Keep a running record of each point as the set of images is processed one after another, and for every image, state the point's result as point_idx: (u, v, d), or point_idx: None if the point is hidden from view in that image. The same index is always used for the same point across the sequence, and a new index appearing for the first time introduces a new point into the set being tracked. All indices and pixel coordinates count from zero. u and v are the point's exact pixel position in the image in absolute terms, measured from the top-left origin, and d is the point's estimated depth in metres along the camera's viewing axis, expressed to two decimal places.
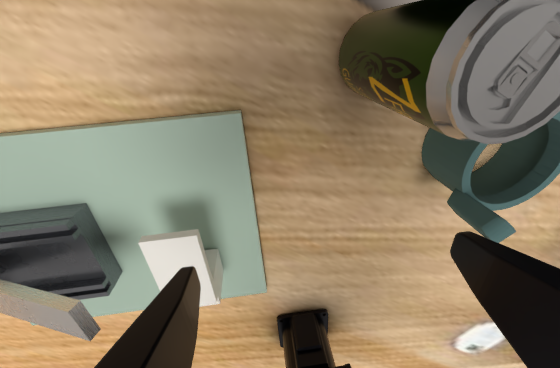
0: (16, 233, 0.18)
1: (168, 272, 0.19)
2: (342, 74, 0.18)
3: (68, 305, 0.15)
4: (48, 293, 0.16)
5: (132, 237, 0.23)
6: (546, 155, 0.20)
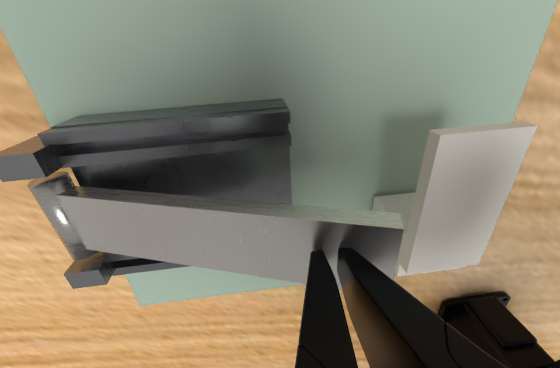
0: (205, 125, 0.11)
1: (449, 200, 0.11)
2: None
3: (388, 220, 0.08)
4: (317, 207, 0.09)
5: (324, 166, 0.15)
6: None
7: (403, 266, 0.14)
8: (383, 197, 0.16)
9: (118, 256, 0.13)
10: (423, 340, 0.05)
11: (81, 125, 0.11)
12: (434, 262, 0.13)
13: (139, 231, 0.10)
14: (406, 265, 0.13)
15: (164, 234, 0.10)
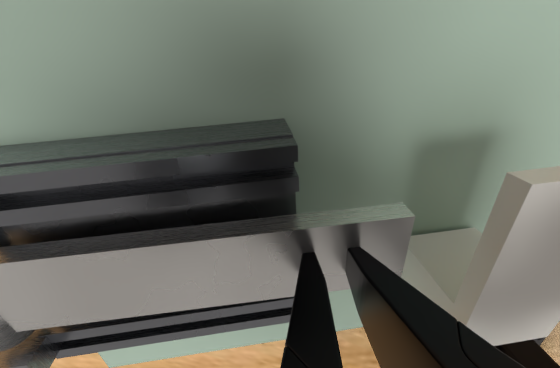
0: (171, 167, 0.07)
1: (526, 268, 0.08)
2: None
3: (397, 210, 0.08)
4: (326, 212, 0.08)
5: (338, 202, 0.12)
6: None
7: None
8: (412, 238, 0.13)
9: (61, 336, 0.10)
10: (436, 338, 0.05)
11: None
12: (491, 338, 0.10)
13: (108, 287, 0.08)
14: None
15: (147, 281, 0.08)
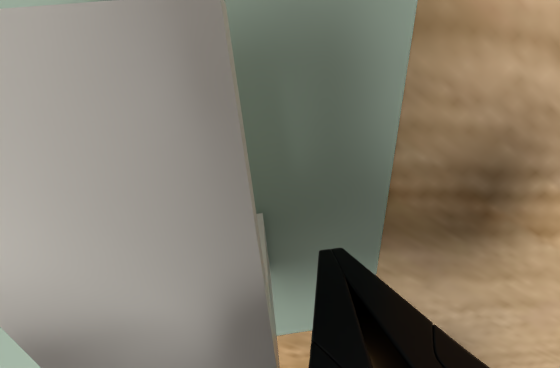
0: None
1: (58, 283, 0.04)
2: None
3: None
4: None
5: None
6: None
7: None
8: None
9: None
10: (410, 342, 0.05)
11: None
12: None
13: None
14: None
15: None
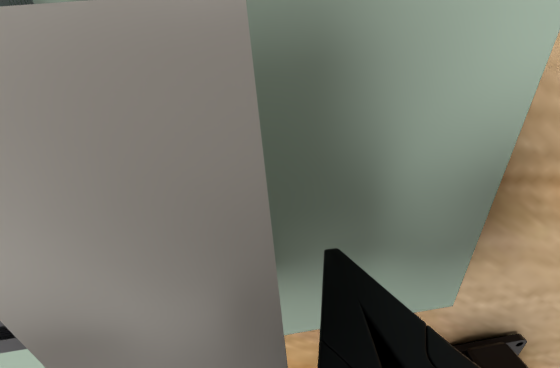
0: None
1: (71, 285, 0.04)
2: None
3: None
4: None
5: None
6: None
7: None
8: None
9: None
10: (403, 343, 0.05)
11: None
12: None
13: None
14: None
15: None
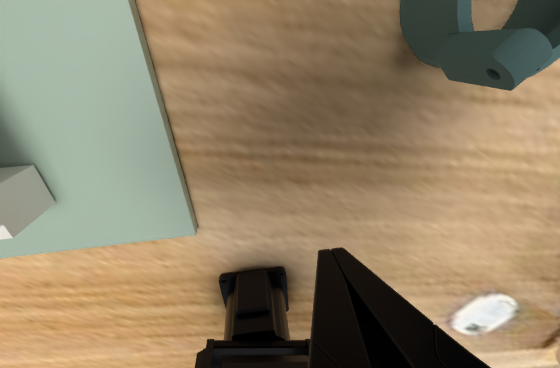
0: None
1: None
2: None
3: None
4: None
5: None
6: None
7: None
8: None
9: None
10: (411, 342, 0.05)
11: None
12: None
13: None
14: None
15: None
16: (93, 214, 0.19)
